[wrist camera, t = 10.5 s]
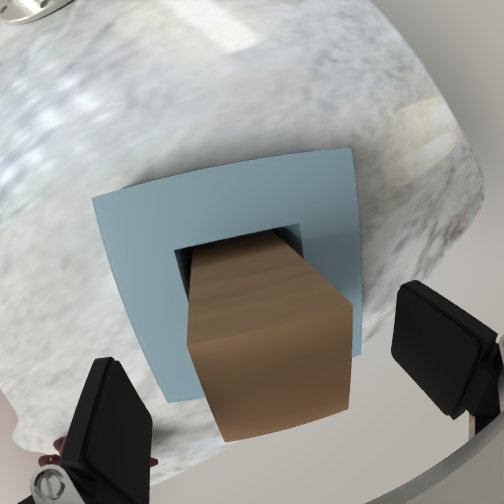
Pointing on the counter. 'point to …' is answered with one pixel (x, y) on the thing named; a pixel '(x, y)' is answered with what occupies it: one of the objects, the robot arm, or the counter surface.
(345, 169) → the socket block
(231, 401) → the walnut peg
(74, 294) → the counter surface
